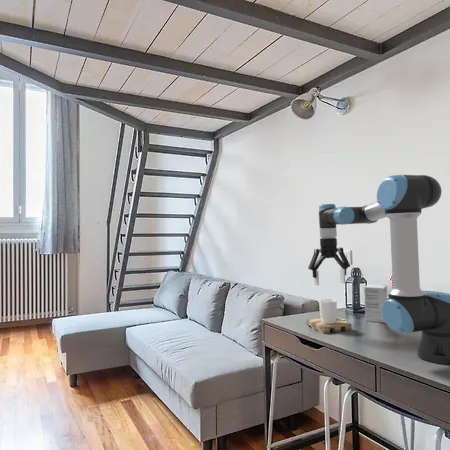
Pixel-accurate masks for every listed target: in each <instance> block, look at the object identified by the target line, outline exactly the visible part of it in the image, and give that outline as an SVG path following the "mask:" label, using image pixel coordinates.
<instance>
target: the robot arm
mask: <svg viewBox="0 0 450 450" xmlns="http://www.w3.org/2000/svg"><path fill="white" fill-rule="evenodd" d="M442 192H443V191H442V187H441V184H440V182H439V181H438V180H437V179H436V178H434V177H433V176H430V175H427V174H425V175H424V174H417V175H416V174H395V175H394V174H392V175H388V176H387V177H385V178H383V180H382V181H381V183H380V184H379V186H378V188H377V192H376V201H374V202H371V203H369V204H366V205H363V206H338V207H337V206H336V204H335V203H324V204H320V205H318V206H319V207H318V220H319V221H318V224H319V237H320V239H319V246H320V248H314V249H313V256H312V258H311V260H310V263H309V264H308V267H307V268H308V270H311V272H312V278H314V279H313V280H314V282H313V283H314V285H315V286H320V278H319V276H320V275H319V273H320V272H319V270H318V269H319V267H320V266H321V265H322V263H323V262H324V260H325V259H334V260H335V261H336V263H337V264H338V265H339V266H340V268H339V269H340V271H339V272H340V275H339V276H340V283H342V284H346V276H347V269H348V268H350V267H351V264H350V262H349V261H348V260H349V259H348V258H347V256H346V255H345V252H344V247H338V239H337V225H341V226H343V225H354V224H355V225H356V224H357V225H359V224H367V225H368V224H375V223H377V222H378V221H379V220H381V219H384V218H388V220H389V227H390V228H389V229H390V230H389V231H390V232H389V233H390V250H391V251H390V254H391V255H390V256H391V273H392V274H391V275H392V279H391V280H392V288H391V289H390V290H388V291H387V296H388V298H387V300H386V301H385V302H384V304H383V305H382V316H383V319H384V321H385V324H386V325H387V327H388V328H389V329H390V330H392V331H393V332H394V333H396V334H411V333H416V332H421V336H420V338H419V343H418V346H417V348H416V355H417V357H418V358H420V359H422V360H424V361H427V362H431V363H436V364H442V365H450V293H448V292H442V291H441V292H440V291H434V290H422V289H421V285H420V262H419V261H420V259H419V240H418V237H419V236H418V218H419V216H421V214H422V210H423V209H427V208H430V207H433V206H435V205H436V204H437V203H438V202H439V200H440V199H441V196H442ZM338 254H339V255H338Z"/></svg>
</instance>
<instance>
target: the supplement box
mask: <svg viewBox="0 0 450 450" xmlns="http://www.w3.org/2000/svg"><path fill="white" fill-rule="evenodd" d="M363 290H364V292H363V293H364V314H365V322H371V323H372V322H373V323H383V324H384V323H385V321H384V319H383V316H382V305H383V304H384V302H385V301H386V300H388V286H387V285H386V284H371V283H370V284H367V285H366V286H365V287H364V288H363ZM385 324H386V323H385Z"/></svg>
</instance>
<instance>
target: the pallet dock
mask: <svg viewBox="0 0 450 450" xmlns="http://www.w3.org/2000/svg"><path fill="white" fill-rule="evenodd" d="M307 325H310V326H311V327H312V328H311V327H310V328H311V329H314V330H316V331H317V332H320V333H322V334H325V335H326V334H330V333H331V331H332V332H334V333H341V332H342V331H345V332H348V331H349V332H350V331H352V330H353V329H352V328H353V327H352V323H350V322H348V321H345V320H343V319H340V318H337V317H336V323H335V324H324V323H321V317H314V318H306V326H307Z"/></svg>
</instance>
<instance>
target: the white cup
mask: <svg viewBox="0 0 450 450" xmlns="http://www.w3.org/2000/svg"><path fill="white" fill-rule="evenodd" d="M337 301H338V300H336V299H329V298H328V299H327V298H326V299H325V298H324V299H319V300H318V303H319V315H320V318H321V323H324V324H335V323H336V318H337V312H338V311H337V310H338V303H337Z"/></svg>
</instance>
